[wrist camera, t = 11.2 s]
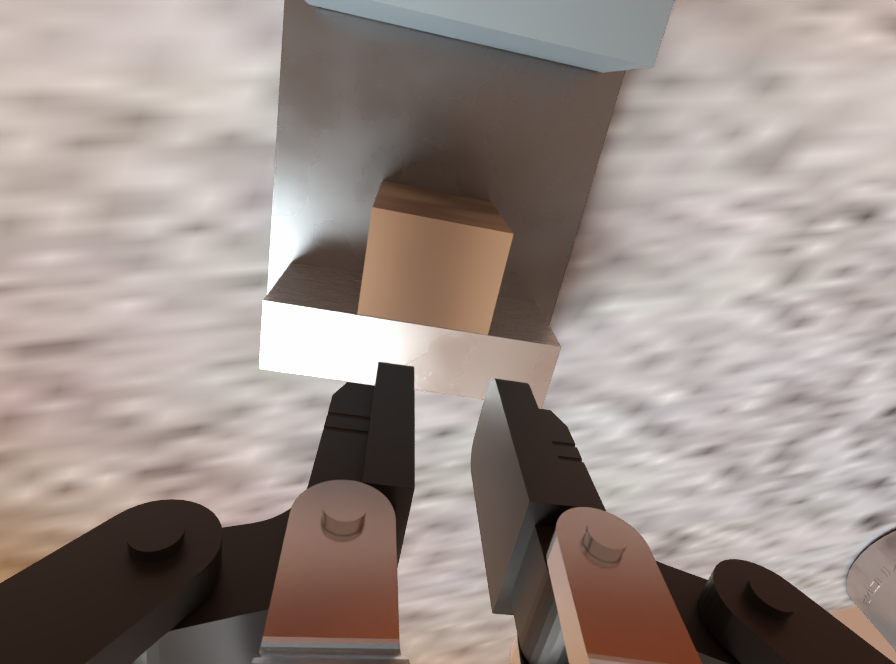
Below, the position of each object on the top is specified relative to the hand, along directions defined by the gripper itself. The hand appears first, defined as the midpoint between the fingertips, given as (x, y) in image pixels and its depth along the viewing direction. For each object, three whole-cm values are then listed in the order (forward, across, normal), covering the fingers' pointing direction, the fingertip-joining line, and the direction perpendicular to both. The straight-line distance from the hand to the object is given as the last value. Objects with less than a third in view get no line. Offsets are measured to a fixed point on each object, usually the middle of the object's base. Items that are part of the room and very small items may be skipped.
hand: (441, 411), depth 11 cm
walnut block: (+15, 0, 0) cm, 15 cm away
